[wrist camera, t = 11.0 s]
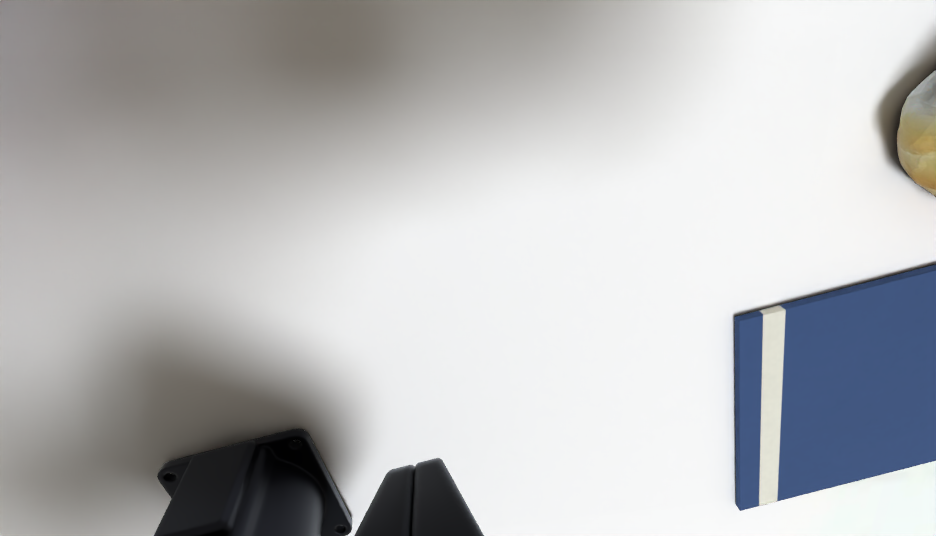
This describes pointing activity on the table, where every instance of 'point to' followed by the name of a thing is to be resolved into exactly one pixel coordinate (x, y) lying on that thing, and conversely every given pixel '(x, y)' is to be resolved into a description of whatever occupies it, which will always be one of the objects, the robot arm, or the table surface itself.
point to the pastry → (919, 134)
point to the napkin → (835, 388)
